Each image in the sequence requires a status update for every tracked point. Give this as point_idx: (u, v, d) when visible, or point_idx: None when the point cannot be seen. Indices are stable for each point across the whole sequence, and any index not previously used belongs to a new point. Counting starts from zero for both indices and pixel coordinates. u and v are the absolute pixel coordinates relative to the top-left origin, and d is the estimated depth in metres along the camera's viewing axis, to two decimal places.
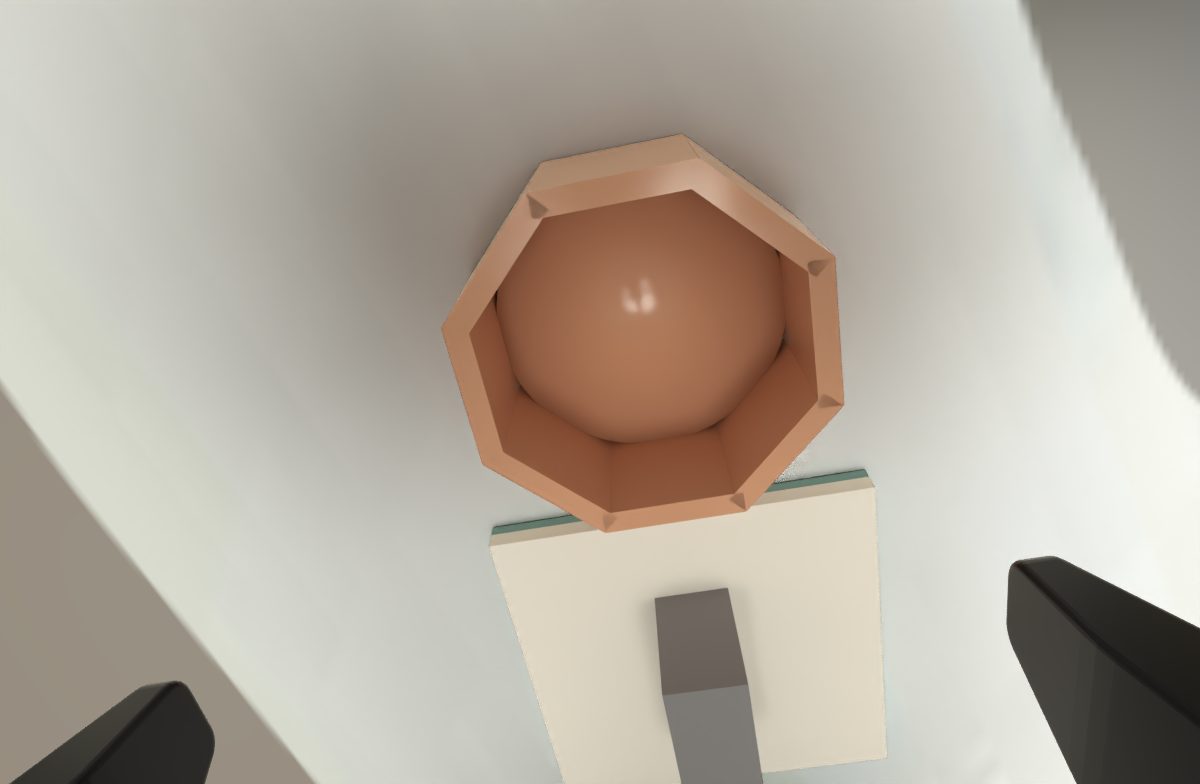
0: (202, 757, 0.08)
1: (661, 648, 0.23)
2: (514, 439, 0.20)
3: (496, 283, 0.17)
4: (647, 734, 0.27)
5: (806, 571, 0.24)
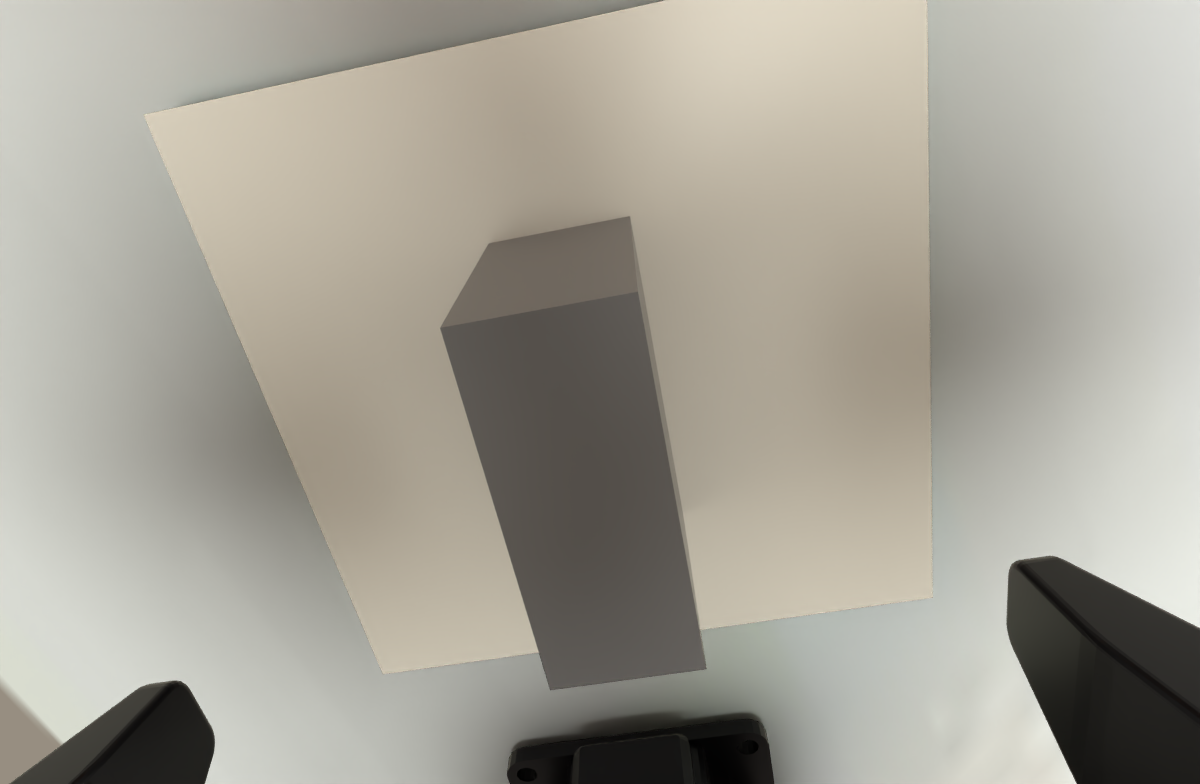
0: (202, 757, 0.08)
1: (471, 282, 0.11)
2: None
3: None
4: (506, 549, 0.15)
5: (784, 173, 0.12)
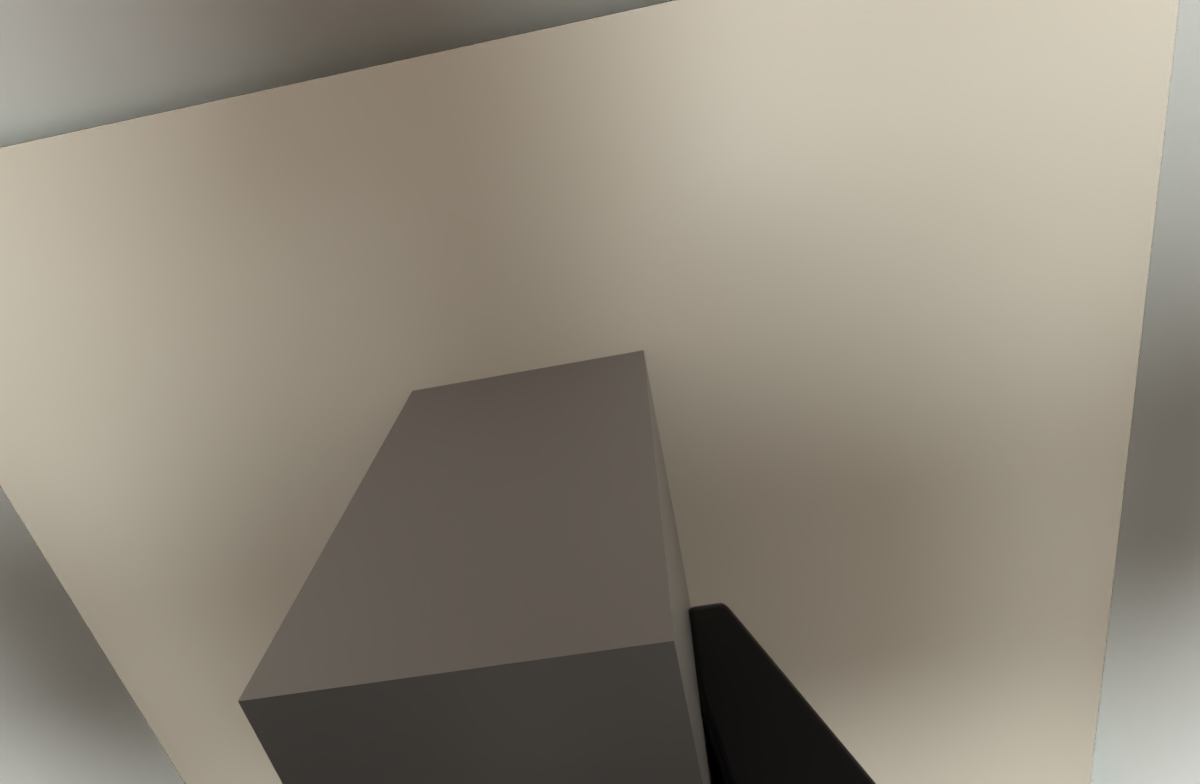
0: None
1: (352, 514, 0.06)
2: None
3: None
4: None
5: (903, 285, 0.07)
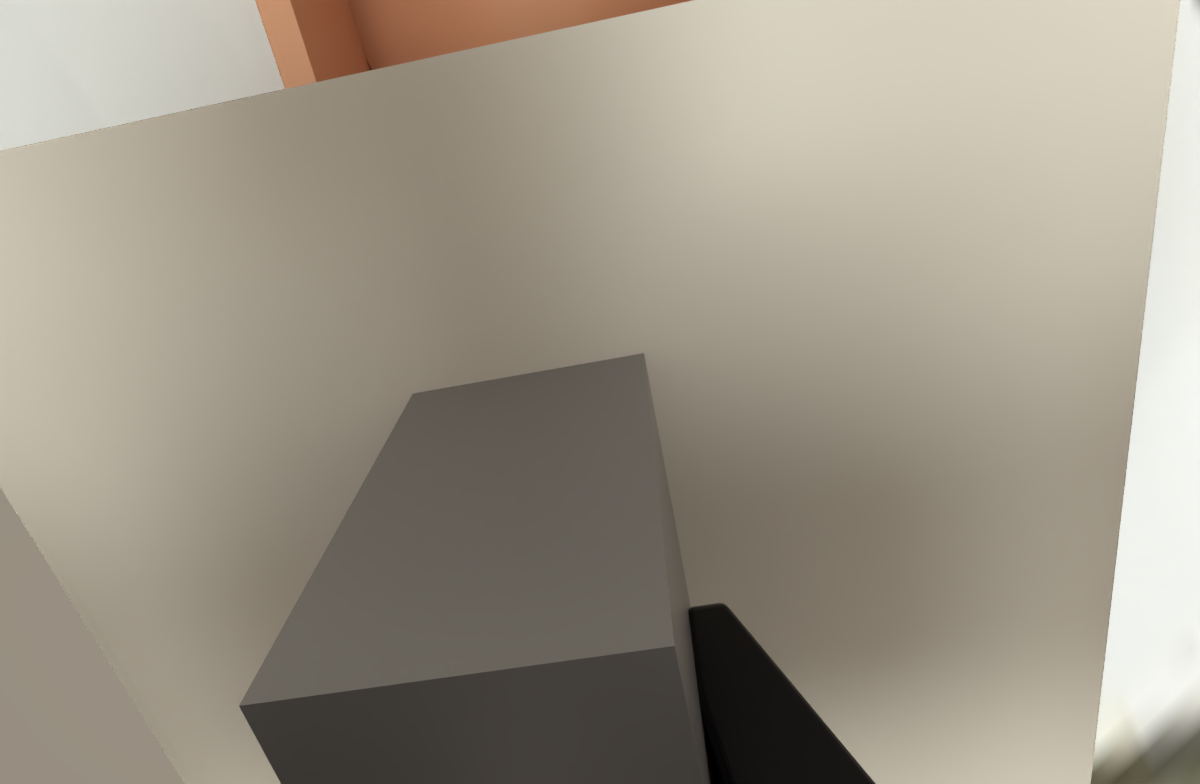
0: None
1: (353, 517, 0.06)
2: None
3: None
4: None
5: (903, 288, 0.07)
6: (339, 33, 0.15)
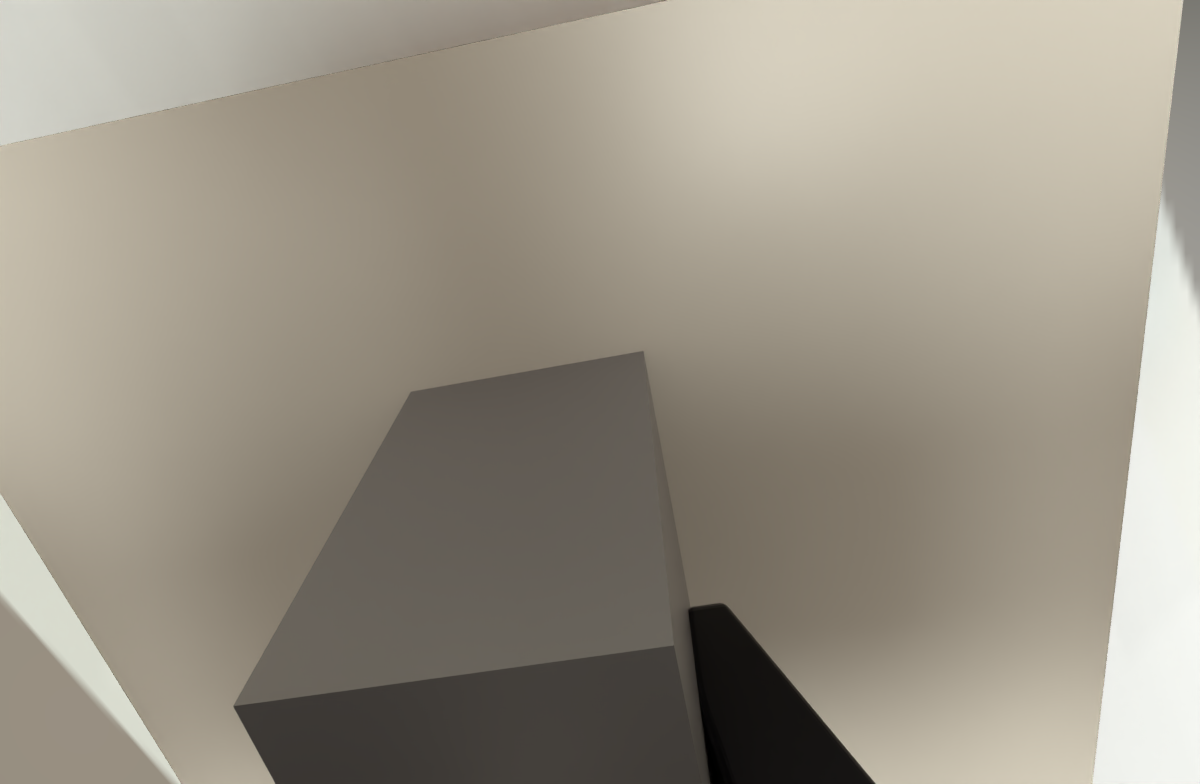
0: None
1: (350, 516, 0.06)
2: None
3: None
4: None
5: (904, 285, 0.07)
6: None
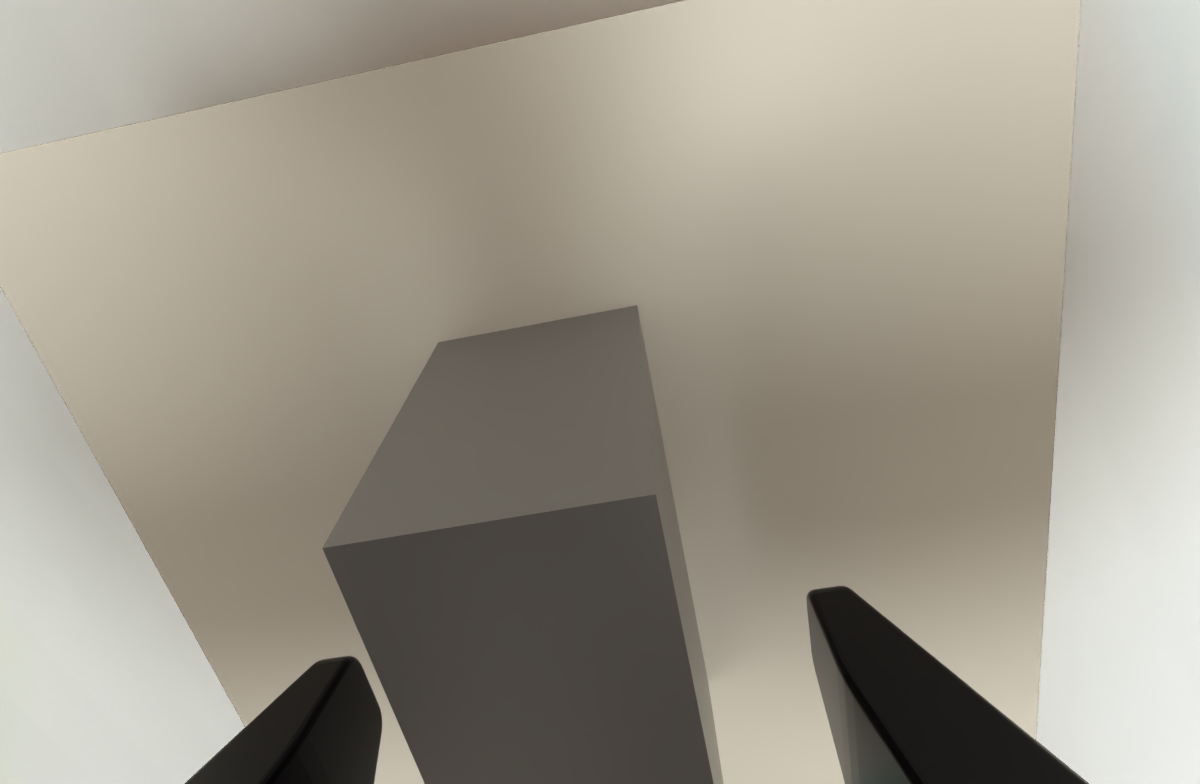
0: (374, 734, 0.08)
1: (397, 429, 0.07)
2: None
3: None
4: None
5: (858, 247, 0.08)
6: None
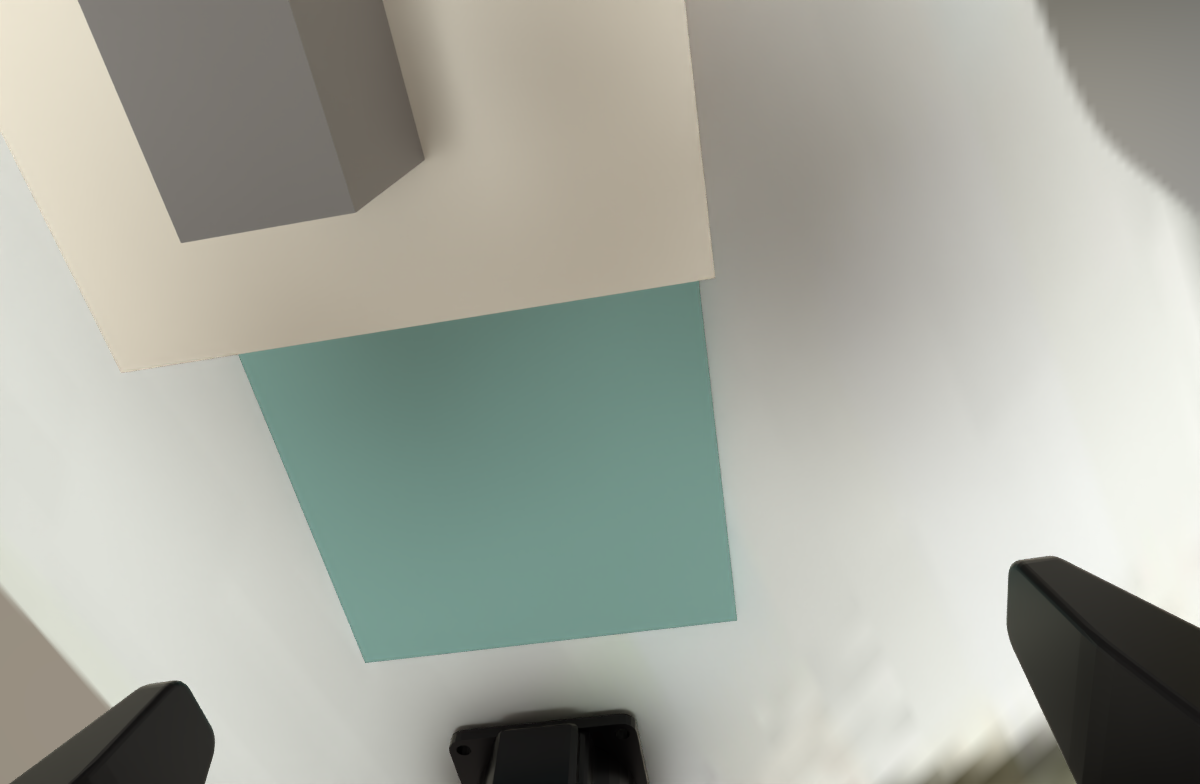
0: (202, 757, 0.08)
1: None
2: None
3: None
4: None
5: None
6: None
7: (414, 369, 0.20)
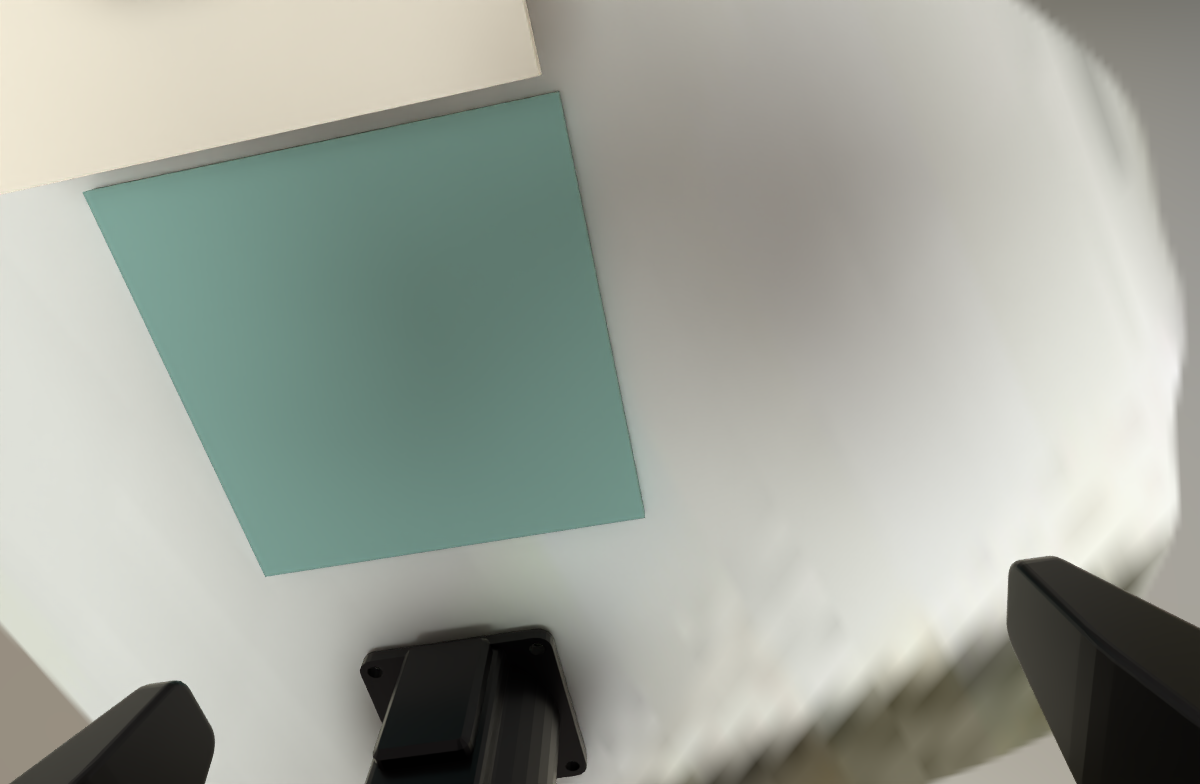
0: (202, 757, 0.08)
1: None
2: None
3: None
4: (28, 8, 0.13)
5: None
6: None
7: (283, 242, 0.19)
